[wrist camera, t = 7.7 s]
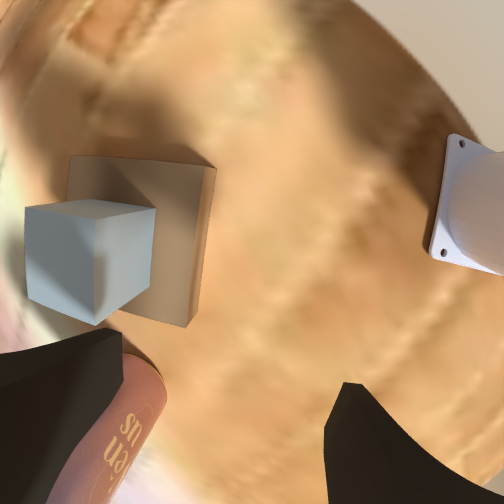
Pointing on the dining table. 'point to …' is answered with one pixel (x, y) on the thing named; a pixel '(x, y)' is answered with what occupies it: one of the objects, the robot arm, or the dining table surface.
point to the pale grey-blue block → (87, 256)
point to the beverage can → (113, 438)
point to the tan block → (157, 224)
